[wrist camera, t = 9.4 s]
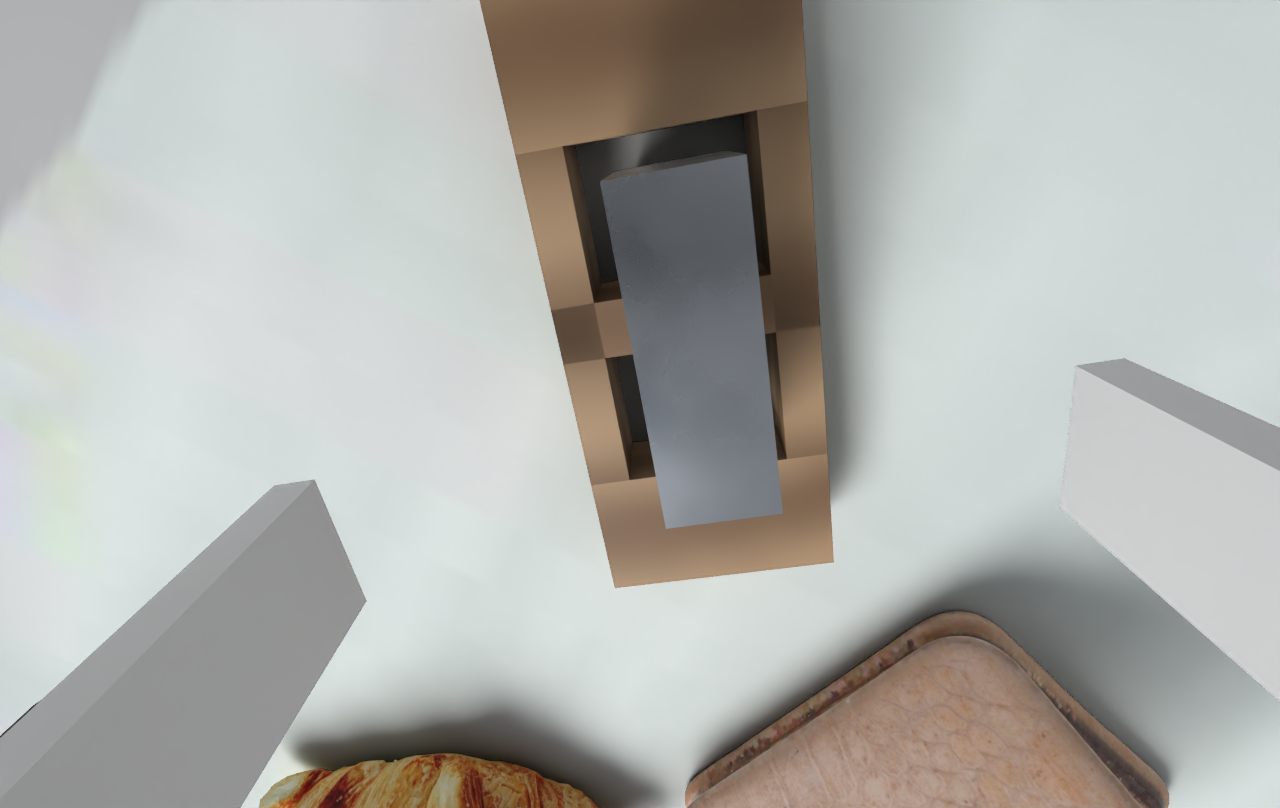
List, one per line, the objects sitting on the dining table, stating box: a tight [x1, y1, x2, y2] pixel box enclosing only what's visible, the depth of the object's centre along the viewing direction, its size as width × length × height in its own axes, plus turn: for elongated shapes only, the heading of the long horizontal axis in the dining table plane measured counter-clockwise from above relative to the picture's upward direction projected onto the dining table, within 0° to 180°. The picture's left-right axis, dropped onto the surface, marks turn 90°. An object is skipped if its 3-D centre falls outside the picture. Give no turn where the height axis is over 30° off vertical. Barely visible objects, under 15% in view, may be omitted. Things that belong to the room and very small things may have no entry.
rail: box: [480, 0, 834, 588], centre depth 23 cm, size 22×9×3 cm, turn 10°
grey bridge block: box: [600, 151, 783, 529], centre depth 20 cm, size 10×4×8 cm, turn 10°
